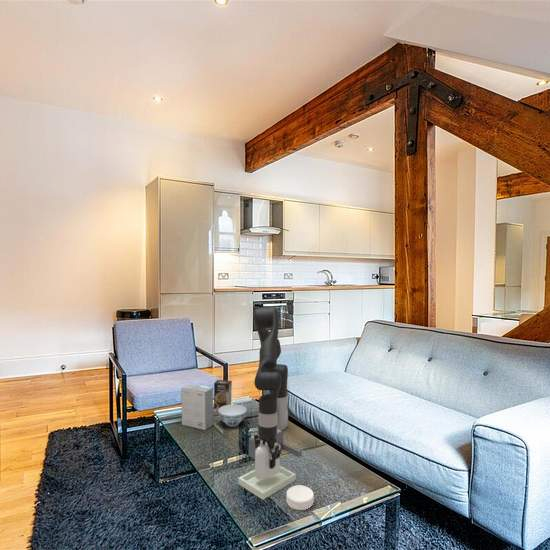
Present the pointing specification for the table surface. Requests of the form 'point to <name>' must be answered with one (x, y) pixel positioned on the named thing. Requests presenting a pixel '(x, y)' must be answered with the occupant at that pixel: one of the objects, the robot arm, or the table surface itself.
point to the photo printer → (264, 463)
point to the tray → (266, 482)
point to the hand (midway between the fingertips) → (267, 464)
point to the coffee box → (222, 393)
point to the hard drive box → (197, 406)
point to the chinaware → (232, 414)
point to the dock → (279, 440)
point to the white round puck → (300, 497)
